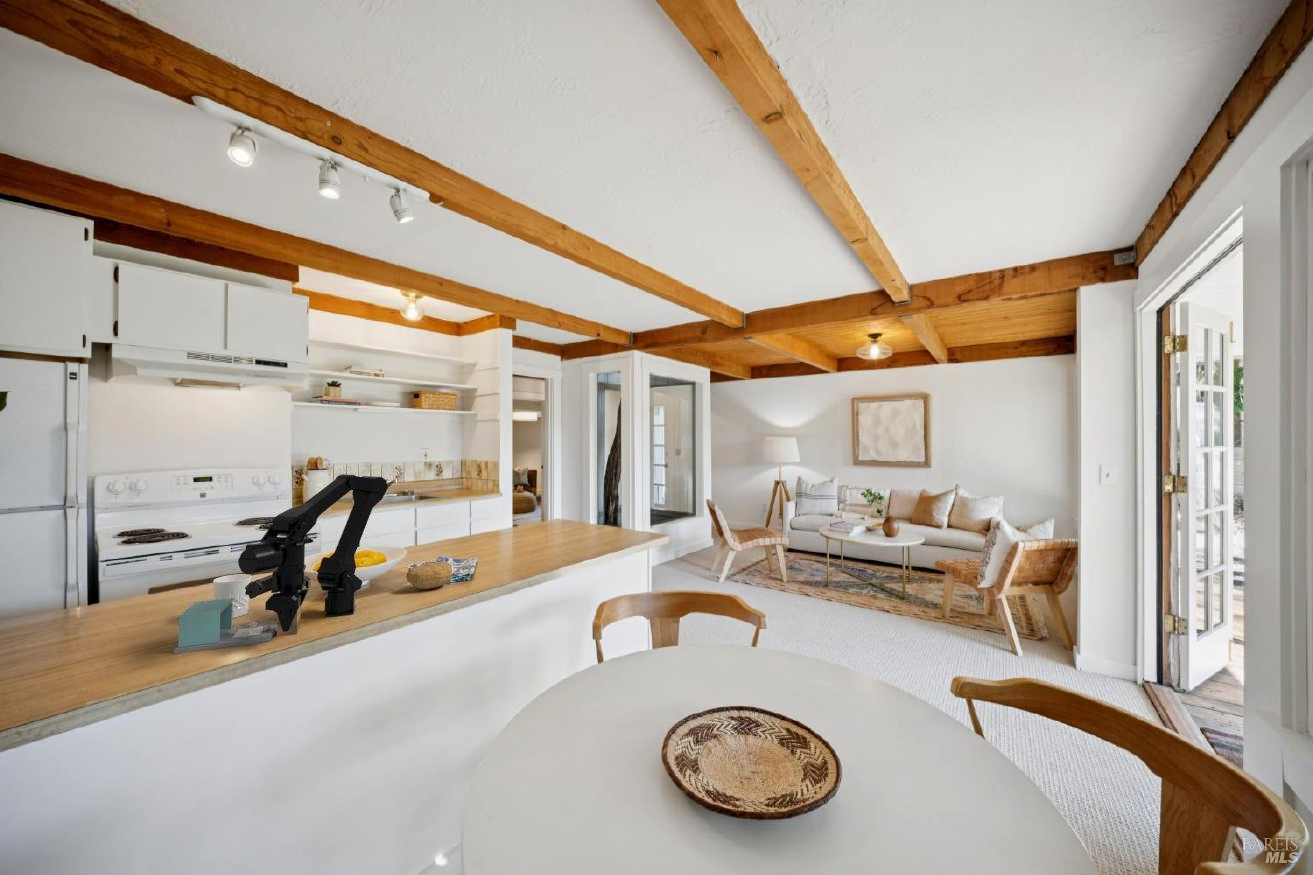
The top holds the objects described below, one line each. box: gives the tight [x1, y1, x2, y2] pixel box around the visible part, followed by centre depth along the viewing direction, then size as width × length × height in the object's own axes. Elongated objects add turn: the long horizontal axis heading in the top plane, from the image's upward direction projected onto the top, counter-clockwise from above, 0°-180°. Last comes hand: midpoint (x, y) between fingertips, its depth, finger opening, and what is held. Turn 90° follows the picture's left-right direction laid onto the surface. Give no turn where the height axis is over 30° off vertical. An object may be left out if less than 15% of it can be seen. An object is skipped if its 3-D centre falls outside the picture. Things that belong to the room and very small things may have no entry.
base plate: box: [173, 621, 277, 655], centre depth 118 cm, size 17×11×2 cm, turn 117°
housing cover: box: [177, 598, 233, 648], centre depth 116 cm, size 7×10×7 cm
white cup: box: [212, 573, 252, 619], centre depth 133 cm, size 8×8×10 cm
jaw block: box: [276, 605, 302, 638], centre depth 122 cm, size 4×4×6 cm
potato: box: [405, 561, 453, 590], centre depth 160 cm, size 10×14×8 cm
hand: (288, 626), depth 122 cm, fingers open, 7 cm apart
